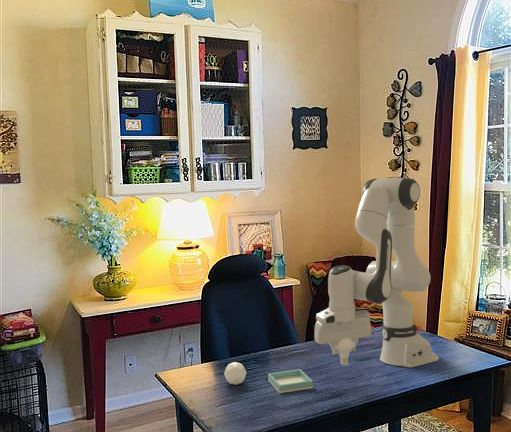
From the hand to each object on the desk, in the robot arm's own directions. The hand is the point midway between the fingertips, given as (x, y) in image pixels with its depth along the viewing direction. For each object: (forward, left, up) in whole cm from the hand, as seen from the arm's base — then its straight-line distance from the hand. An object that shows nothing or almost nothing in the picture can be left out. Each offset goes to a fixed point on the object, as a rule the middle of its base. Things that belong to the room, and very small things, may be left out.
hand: (344, 352), depth 200 cm
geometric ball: (+35, -18, -13) cm, 41 cm away
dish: (+17, -10, -13) cm, 23 cm away
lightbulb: (0, 0, -5) cm, 5 cm away
